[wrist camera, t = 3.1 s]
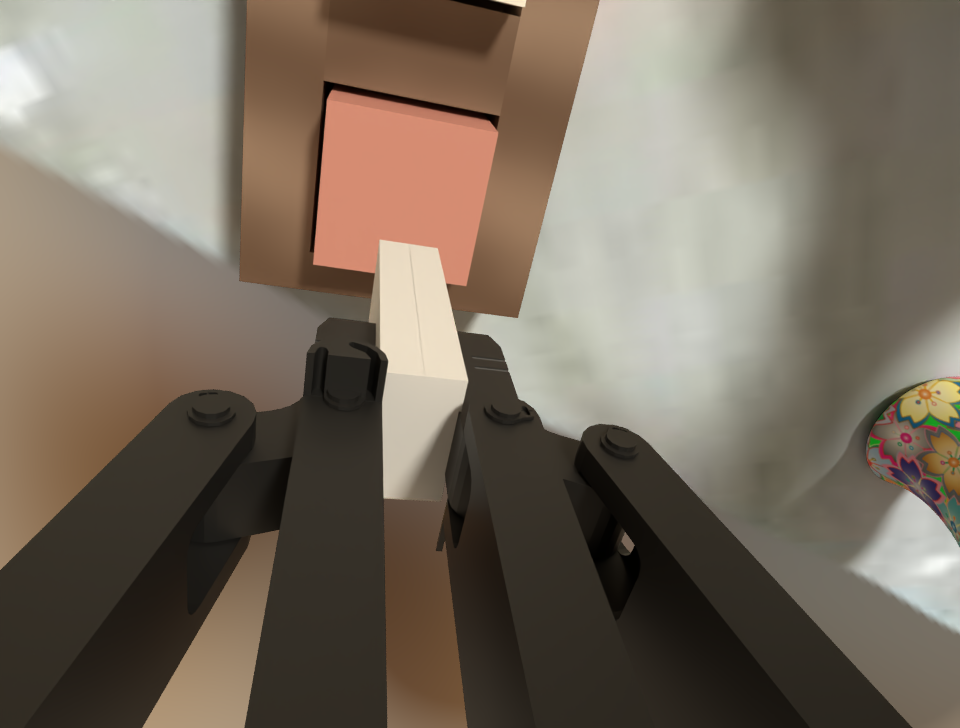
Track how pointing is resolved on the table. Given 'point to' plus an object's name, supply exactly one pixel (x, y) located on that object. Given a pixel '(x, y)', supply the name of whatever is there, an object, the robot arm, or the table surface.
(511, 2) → the key cream
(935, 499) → the mug
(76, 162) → the table surface
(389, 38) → the key panel
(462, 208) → the key red
